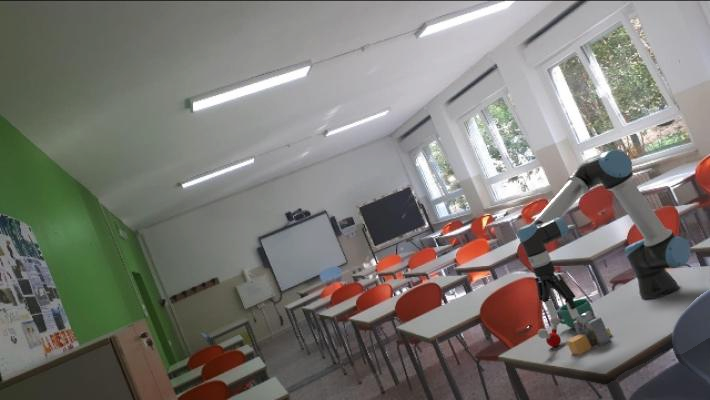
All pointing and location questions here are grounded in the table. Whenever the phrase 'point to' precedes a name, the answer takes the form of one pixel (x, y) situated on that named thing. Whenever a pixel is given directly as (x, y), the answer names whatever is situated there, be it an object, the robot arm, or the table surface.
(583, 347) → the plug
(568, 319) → the mug
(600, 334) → the housing
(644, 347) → the table surface
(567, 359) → the table surface
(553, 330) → the molecular model
